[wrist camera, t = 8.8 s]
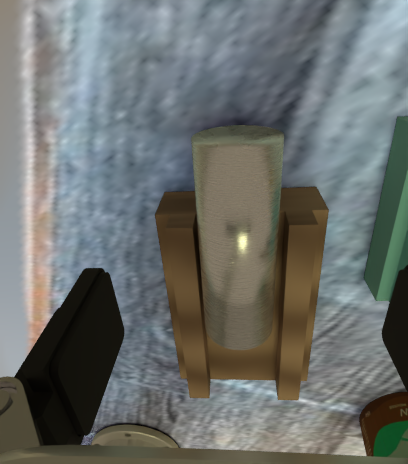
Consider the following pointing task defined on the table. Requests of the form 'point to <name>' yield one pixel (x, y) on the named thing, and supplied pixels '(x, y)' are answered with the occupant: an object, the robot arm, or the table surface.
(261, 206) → the axle
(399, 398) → the food container
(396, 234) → the v block
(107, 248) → the table surface
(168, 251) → the wooden channel block
